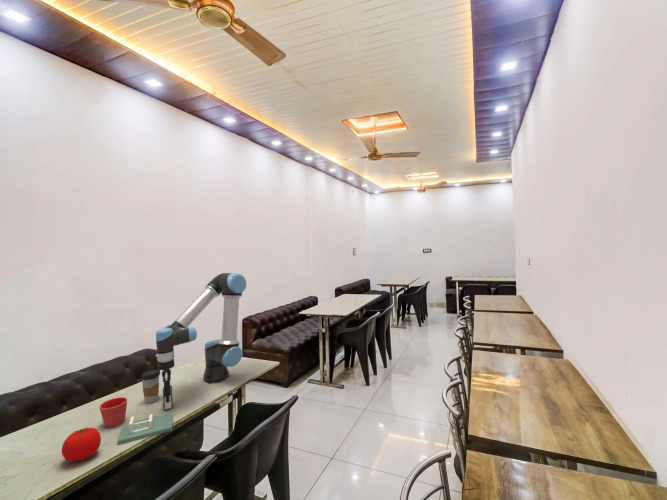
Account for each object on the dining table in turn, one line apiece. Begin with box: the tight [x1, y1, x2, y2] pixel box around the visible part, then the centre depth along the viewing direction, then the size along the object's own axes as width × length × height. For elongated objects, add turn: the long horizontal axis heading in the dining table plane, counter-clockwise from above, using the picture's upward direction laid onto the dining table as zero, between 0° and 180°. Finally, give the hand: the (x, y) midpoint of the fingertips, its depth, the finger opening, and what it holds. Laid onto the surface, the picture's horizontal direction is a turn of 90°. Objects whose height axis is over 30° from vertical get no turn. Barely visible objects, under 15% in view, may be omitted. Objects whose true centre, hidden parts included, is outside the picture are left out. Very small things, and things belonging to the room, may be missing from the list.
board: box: [116, 411, 173, 446], centre depth 142 cm, size 20×15×6 cm
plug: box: [161, 384, 174, 411], centre depth 161 cm, size 5×4×10 cm
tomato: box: [61, 426, 102, 463], centre depth 124 cm, size 12×12×10 cm
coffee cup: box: [141, 369, 160, 404], centre depth 170 cm, size 8×8×15 cm
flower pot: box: [99, 396, 128, 429], centre depth 149 cm, size 11×11×10 cm
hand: (168, 406), depth 161 cm, fingers closed on plug, 4 cm apart
